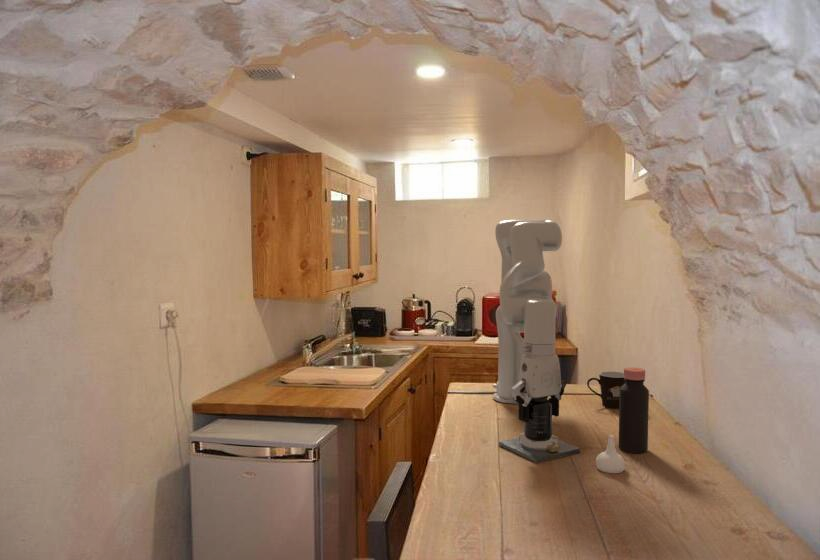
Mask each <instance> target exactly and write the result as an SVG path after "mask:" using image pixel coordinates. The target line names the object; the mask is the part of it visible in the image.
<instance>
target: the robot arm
mask: <svg viewBox="0 0 820 560" xmlns="http://www.w3.org/2000/svg"><path fill="white" fill-rule="evenodd" d="M495 240H496V243H497V247H498V249H499V252H500V257H501V275H500V276H501V278H500V279H501V283H500V287H499V292H498V293H499V306H498V307H497V308H496V310H495V321H496V328H497V340H498V341H497V342H498V343H497V345H498V347H497V351H498V355H497V356H498V357H497V359H498V360H497V361H498V364H497V365H498V366H497V368H498V370H497V371H498V372H497V373H498V374H497V382H496V383H493V385H492V388H493V389H496V392H495V393H493V395H492V396H493V397H492V398H493V400H495V401H497V402H500V403H504V404H512V405H513V404H515V405H518V420H519V421H521V422H523V423H524V422H526V423H527V422H529V406H527V405H528V403H529V401H530V400H531V398H542V397H548V400H549V401H550V402H551V403H552V417H557V418H558V417H559V416H560V401H561V400H562V396H563V394H564V392H565V389H566V386H567V383H568V382H567V380H565V379H563V378H562V377H561V366H560V359H559V356H558V354H556V324H557V323H556V320H557V316H558V307H557V303H556V302H555V300H554V299H553V281H552V277H551V275H550V273H549V272H547V271H545V267H546V266H545V259H544V254H543V252H557V251H559V250H560V249H561V246H562V242H563V234H562V230H561V226H560V225H559V224H558V223H557V222H556V221H554V220H553V221H552V220H550V219H507V220H501V221H500V222H498V223H497V224H496V226H495ZM521 333H524V334H523V337H522V335H521Z"/></svg>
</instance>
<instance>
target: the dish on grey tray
mask: <svg viewBox="0 0 820 560" xmlns="http://www.w3.org/2000/svg"><path fill="white" fill-rule="evenodd" d="M499 445H500V446H499ZM498 446H499V447H501V446H502V447H501V448H503V447H504V448H503V449H505V450H507V449H508V451H509V452H512V453H514V454H515V455H518V456H520V457H522V458H525V459H526V460H529V461H531V462H533V463H535V464H540V463H543V462H547V461H551V460H556V459H558V458H559V459H560V458H563V457H567V456H571V455H575V454H580V453H581V448H579V447H578V446H575V445H572V444H571V443H567V442H565V441H562V440H560V439H558V437H557V436H556V435H555V434H553V433H552V437H551V438H550V439H549V440H545V441H535V440H531V439H528V438H526V437H525V435H524V432H520V433H518V437H514V438H510V439H504V440H501V441H498Z"/></svg>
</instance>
